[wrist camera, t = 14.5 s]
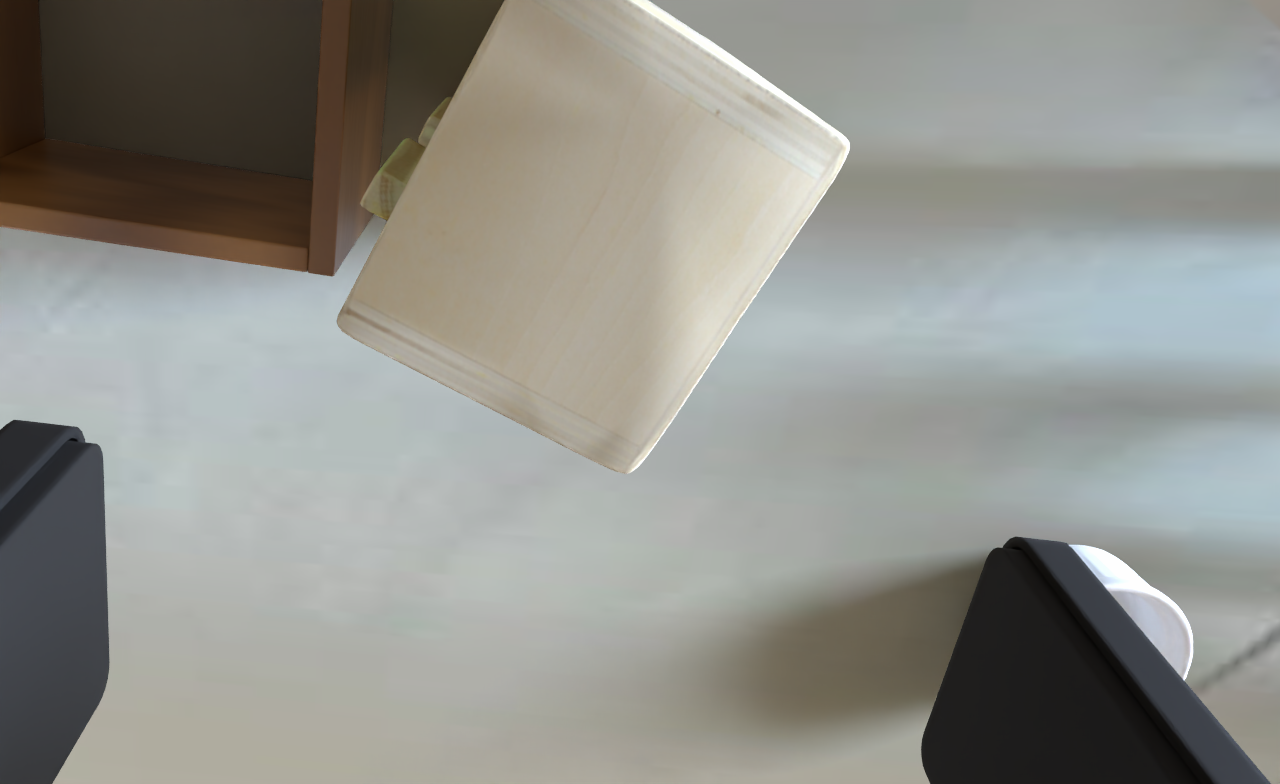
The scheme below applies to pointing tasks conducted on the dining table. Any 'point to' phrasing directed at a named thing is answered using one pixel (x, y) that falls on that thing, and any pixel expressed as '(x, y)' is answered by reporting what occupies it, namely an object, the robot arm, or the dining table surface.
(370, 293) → the toy refrigerator
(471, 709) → the dining table surface
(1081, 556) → the ramekin
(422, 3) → the dining table surface
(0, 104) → the open wooden box
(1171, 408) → the dining table surface
